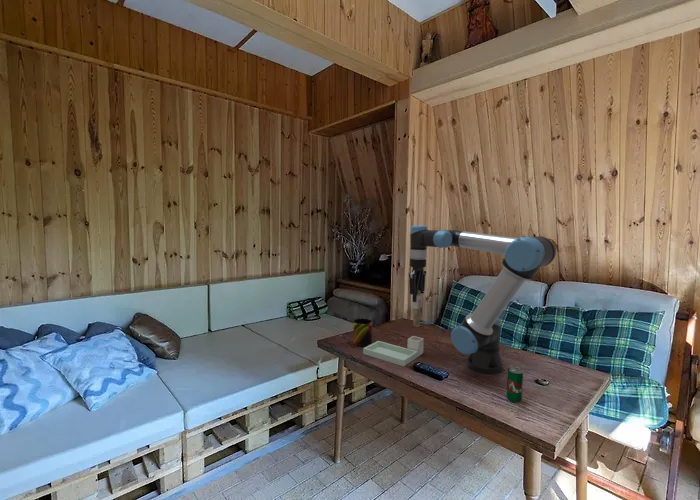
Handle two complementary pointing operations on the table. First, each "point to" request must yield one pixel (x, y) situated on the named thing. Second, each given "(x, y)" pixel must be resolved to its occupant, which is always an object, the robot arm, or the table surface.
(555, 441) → the table surface
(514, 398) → the soda can
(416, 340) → the cup
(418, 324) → the dowel
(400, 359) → the tray
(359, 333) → the mug
